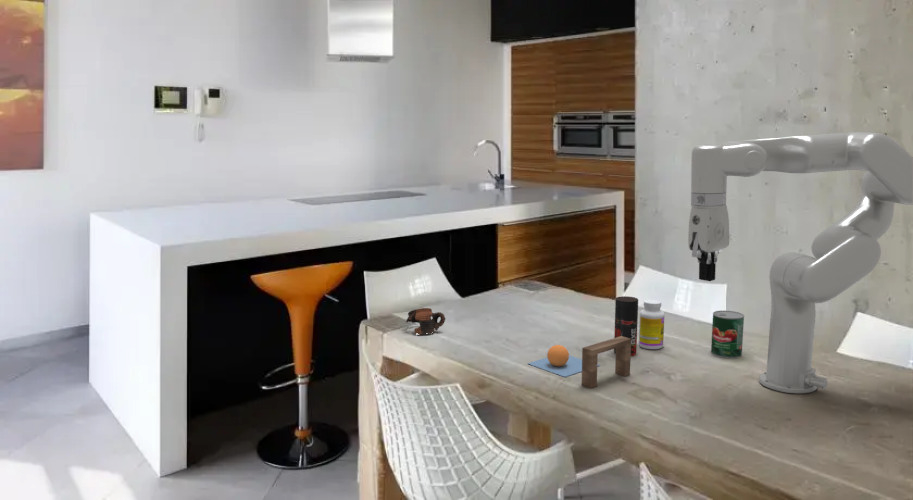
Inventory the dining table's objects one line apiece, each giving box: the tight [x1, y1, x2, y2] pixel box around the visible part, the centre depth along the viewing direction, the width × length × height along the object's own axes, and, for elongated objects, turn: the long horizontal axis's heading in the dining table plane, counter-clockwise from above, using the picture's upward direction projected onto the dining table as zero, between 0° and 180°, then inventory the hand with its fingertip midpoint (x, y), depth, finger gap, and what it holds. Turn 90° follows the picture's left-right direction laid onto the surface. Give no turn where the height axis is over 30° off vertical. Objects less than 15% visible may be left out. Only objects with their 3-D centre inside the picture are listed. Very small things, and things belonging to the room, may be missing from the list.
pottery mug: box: [405, 307, 447, 335], centre depth 221 cm, size 12×10×8 cm
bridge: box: [581, 336, 632, 389], centre depth 178 cm, size 3×14×9 cm, turn 129°
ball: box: [546, 344, 570, 367], centre depth 189 cm, size 6×6×6 cm
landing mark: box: [527, 354, 600, 378], centre depth 190 cm, size 13×13×1 cm
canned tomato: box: [710, 310, 745, 359], centre depth 197 cm, size 8×8×11 cm
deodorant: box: [613, 296, 639, 357], centre depth 198 cm, size 6×6×15 cm
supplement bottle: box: [638, 299, 665, 350], centre depth 203 cm, size 7×7×13 cm
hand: (707, 279), depth 168 cm, fingers closed
